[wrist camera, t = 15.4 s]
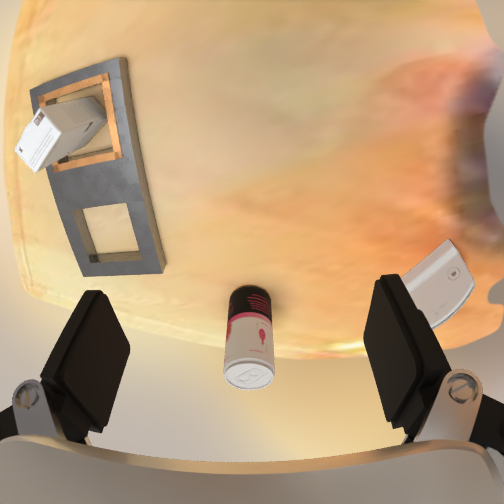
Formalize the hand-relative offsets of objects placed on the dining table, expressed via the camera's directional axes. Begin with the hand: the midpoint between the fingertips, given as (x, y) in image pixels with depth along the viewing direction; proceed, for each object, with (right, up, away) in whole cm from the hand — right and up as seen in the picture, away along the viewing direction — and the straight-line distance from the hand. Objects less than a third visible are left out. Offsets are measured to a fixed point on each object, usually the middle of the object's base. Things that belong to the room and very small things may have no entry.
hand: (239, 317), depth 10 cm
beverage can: (0, -5, +40) cm, 40 cm away
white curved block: (+30, -3, +38) cm, 48 cm away
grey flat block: (-21, +13, +28) cm, 37 cm away
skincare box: (-21, +20, +24) cm, 37 cm away
